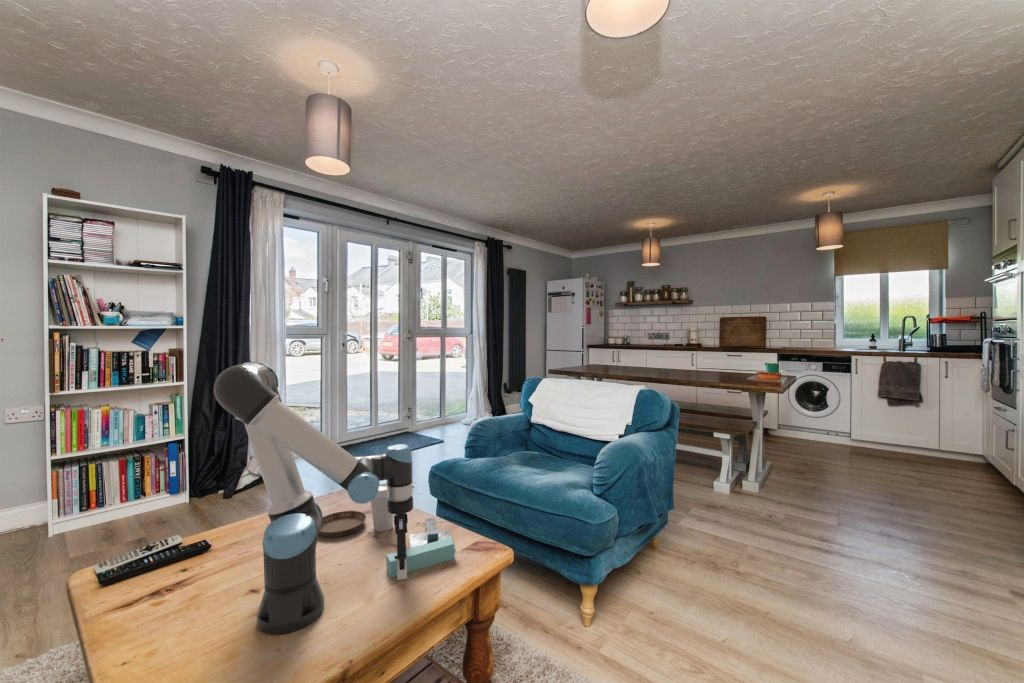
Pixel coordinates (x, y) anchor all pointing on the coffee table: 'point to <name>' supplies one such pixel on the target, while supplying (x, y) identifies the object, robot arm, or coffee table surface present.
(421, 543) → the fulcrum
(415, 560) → the bar
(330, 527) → the plant saucer
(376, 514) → the coffee cup
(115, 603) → the coffee table surface
